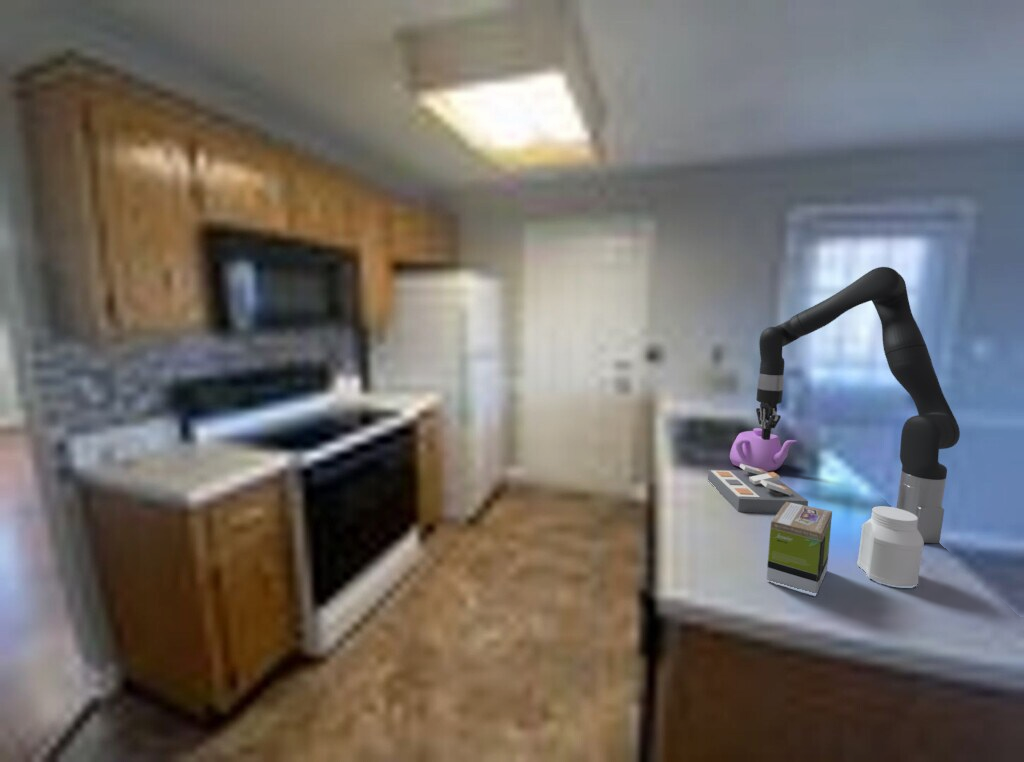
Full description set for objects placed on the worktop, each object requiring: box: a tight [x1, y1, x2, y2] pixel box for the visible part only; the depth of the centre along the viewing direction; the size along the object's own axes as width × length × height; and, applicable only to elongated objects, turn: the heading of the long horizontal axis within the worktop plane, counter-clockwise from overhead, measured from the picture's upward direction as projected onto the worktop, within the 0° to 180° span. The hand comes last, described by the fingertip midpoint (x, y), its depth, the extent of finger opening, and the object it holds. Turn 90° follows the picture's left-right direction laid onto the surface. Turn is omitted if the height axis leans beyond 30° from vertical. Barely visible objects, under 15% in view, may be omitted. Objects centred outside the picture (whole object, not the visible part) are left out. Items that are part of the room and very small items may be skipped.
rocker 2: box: [749, 471, 781, 485], centre depth 163 cm, size 4×8×1 cm, turn 87°
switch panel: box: [707, 469, 809, 514], centre depth 164 cm, size 27×20×5 cm
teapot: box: [729, 427, 797, 472], centre depth 189 cm, size 23×21×15 cm
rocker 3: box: [760, 479, 792, 496], centre depth 155 cm, size 4×8×1 cm, turn 87°
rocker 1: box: [739, 464, 768, 475], centre depth 171 cm, size 4×8×1 cm, turn 87°
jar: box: [856, 505, 925, 586], centre depth 115 cm, size 12×10×15 cm
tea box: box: [766, 502, 833, 594], centre depth 114 cm, size 15×10×15 cm
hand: (765, 439), depth 169 cm, fingers closed
